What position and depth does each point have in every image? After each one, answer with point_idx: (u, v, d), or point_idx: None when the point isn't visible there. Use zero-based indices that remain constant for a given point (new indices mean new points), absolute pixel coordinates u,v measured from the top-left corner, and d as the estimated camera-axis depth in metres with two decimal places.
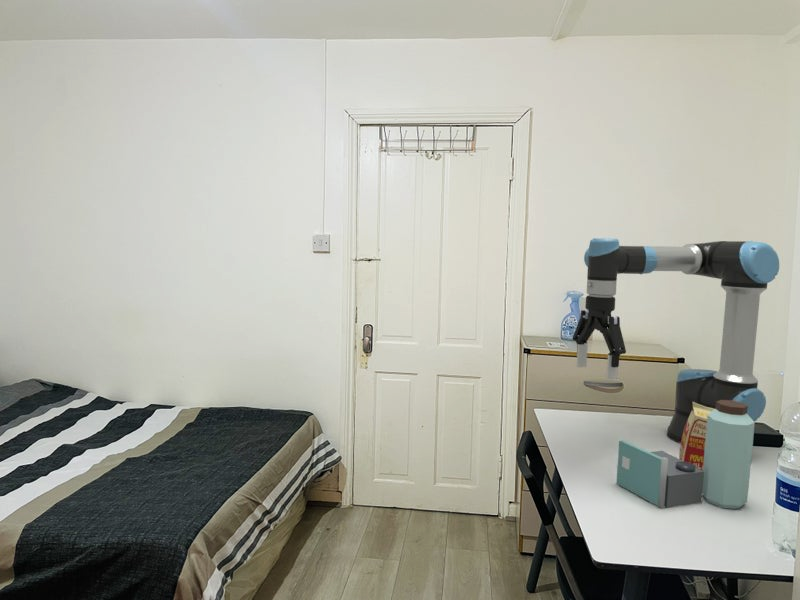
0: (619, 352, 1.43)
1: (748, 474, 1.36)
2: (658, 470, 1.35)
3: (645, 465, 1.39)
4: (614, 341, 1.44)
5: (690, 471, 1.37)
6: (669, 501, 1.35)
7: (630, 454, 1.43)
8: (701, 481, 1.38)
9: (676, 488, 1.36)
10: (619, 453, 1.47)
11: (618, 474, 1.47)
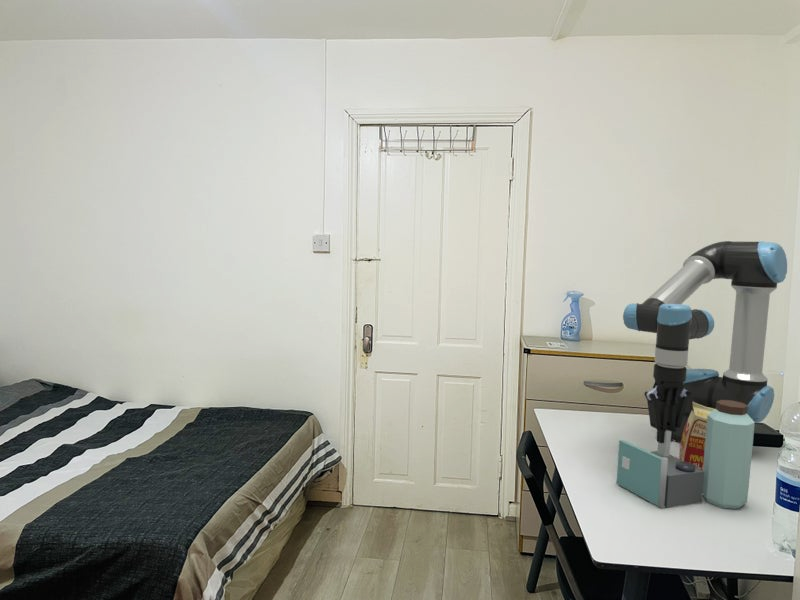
0: (652, 425, 1.43)
1: (748, 474, 1.36)
2: (658, 470, 1.35)
3: (645, 465, 1.39)
4: None
5: (690, 471, 1.37)
6: (669, 501, 1.35)
7: (630, 454, 1.43)
8: (701, 481, 1.38)
9: (676, 488, 1.36)
10: (619, 453, 1.47)
11: (618, 474, 1.47)
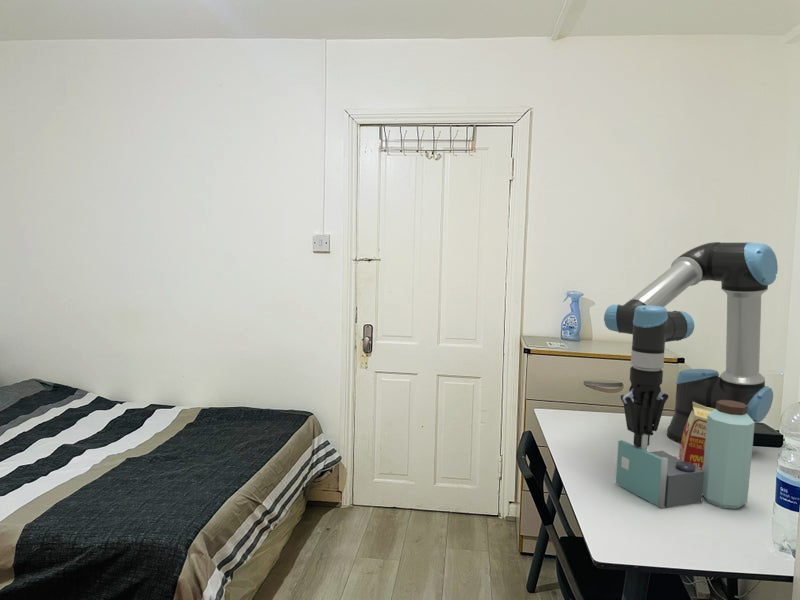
0: (628, 429, 1.41)
1: (748, 474, 1.36)
2: (658, 470, 1.35)
3: (645, 465, 1.39)
4: None
5: (690, 471, 1.37)
6: (669, 501, 1.35)
7: (629, 454, 1.43)
8: (701, 481, 1.38)
9: (676, 488, 1.36)
10: (618, 453, 1.46)
11: (617, 475, 1.47)
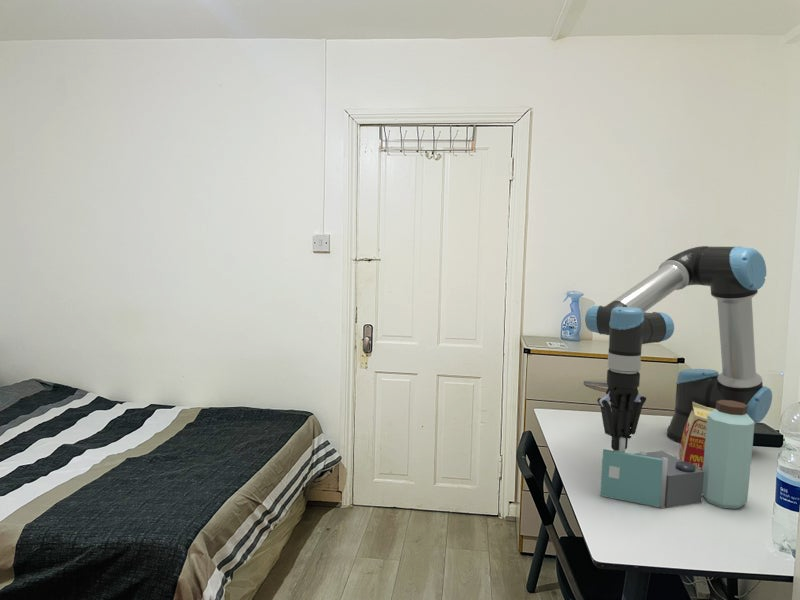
0: (606, 432, 1.39)
1: (748, 474, 1.36)
2: (659, 471, 1.34)
3: (641, 470, 1.36)
4: None
5: (690, 471, 1.37)
6: (669, 501, 1.35)
7: (619, 462, 1.38)
8: (701, 481, 1.38)
9: (676, 488, 1.36)
10: (603, 464, 1.39)
11: (602, 486, 1.40)
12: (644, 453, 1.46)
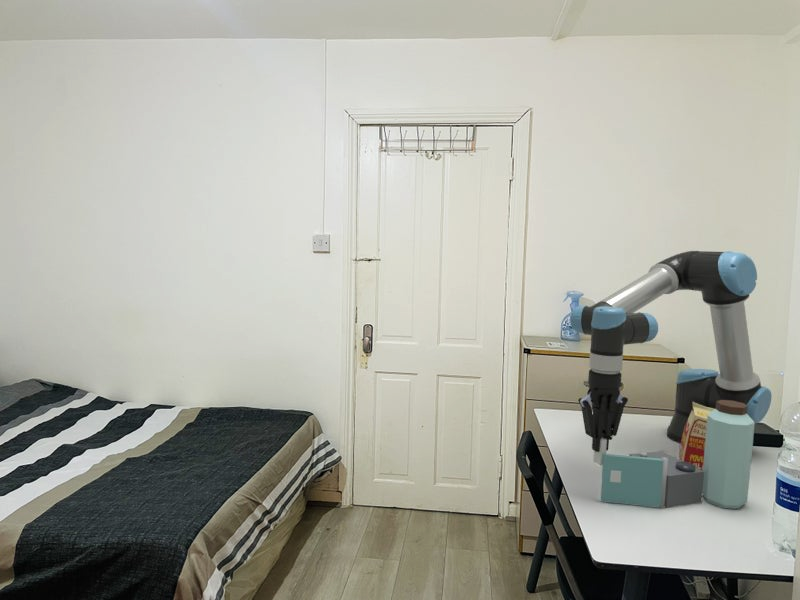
0: (587, 433, 1.38)
1: (748, 474, 1.36)
2: (659, 472, 1.34)
3: (642, 471, 1.35)
4: None
5: (690, 471, 1.37)
6: (669, 501, 1.35)
7: (621, 466, 1.35)
8: (701, 481, 1.38)
9: (676, 488, 1.36)
10: (605, 468, 1.36)
11: (603, 491, 1.37)
12: (644, 453, 1.46)
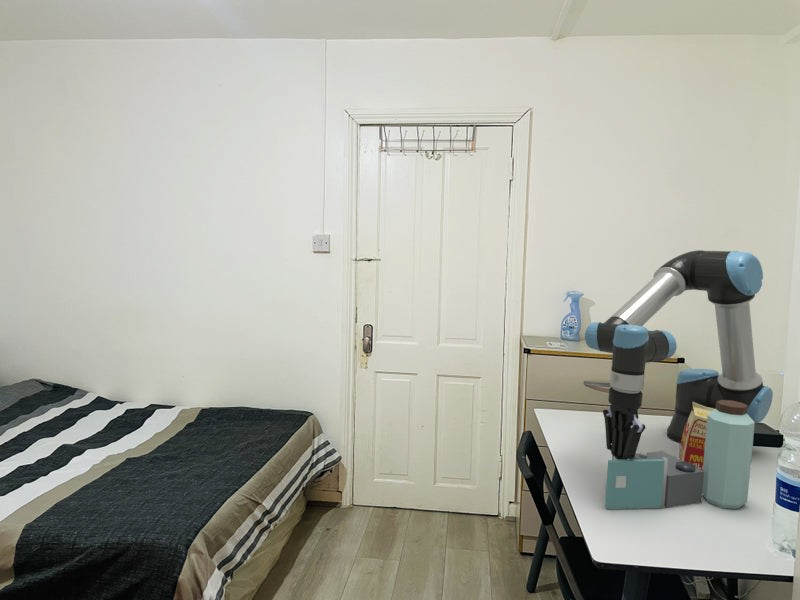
0: (627, 457, 1.34)
1: (748, 474, 1.36)
2: (661, 472, 1.34)
3: (645, 474, 1.33)
4: (627, 447, 1.33)
5: (690, 471, 1.37)
6: (669, 501, 1.35)
7: (625, 470, 1.33)
8: (701, 481, 1.38)
9: (676, 488, 1.36)
10: (610, 475, 1.33)
11: (609, 498, 1.33)
12: (644, 453, 1.46)
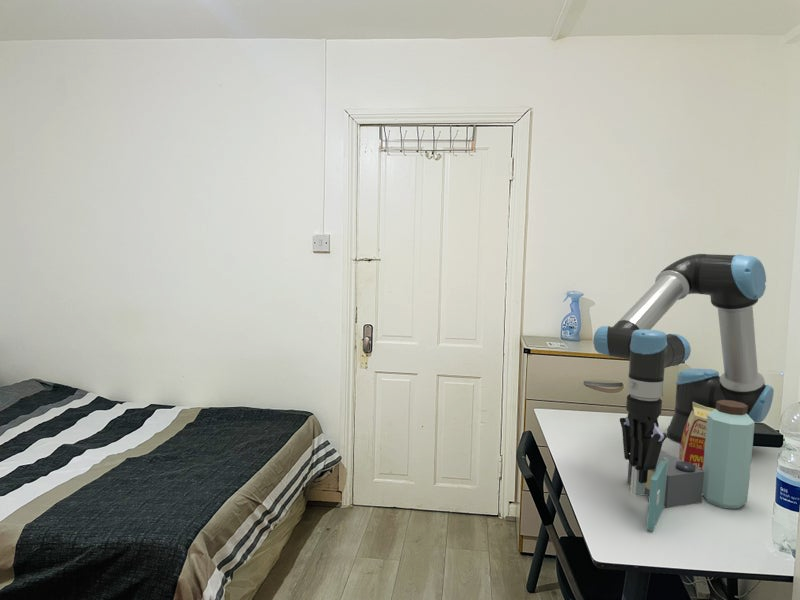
0: (648, 468, 1.28)
1: (748, 474, 1.36)
2: (665, 473, 1.33)
3: (662, 480, 1.30)
4: (648, 458, 1.27)
5: (690, 471, 1.37)
6: (669, 501, 1.35)
7: (659, 484, 1.26)
8: (701, 481, 1.38)
9: (676, 488, 1.36)
10: (655, 494, 1.23)
11: (653, 519, 1.24)
12: None
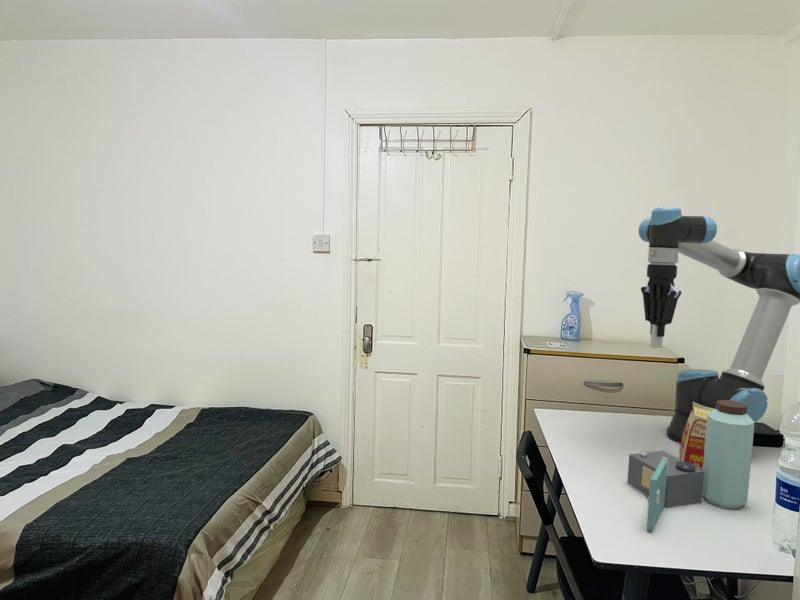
0: (665, 322, 1.53)
1: (748, 474, 1.36)
2: (665, 473, 1.33)
3: (662, 480, 1.30)
4: (665, 313, 1.52)
5: (690, 471, 1.37)
6: (669, 501, 1.35)
7: (659, 484, 1.26)
8: (701, 481, 1.38)
9: (676, 488, 1.36)
10: (655, 494, 1.23)
11: (653, 519, 1.24)
12: (644, 453, 1.46)
